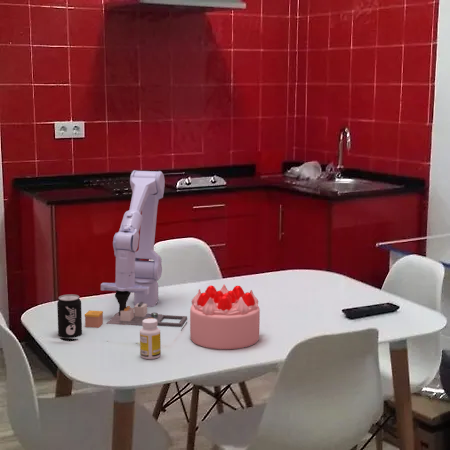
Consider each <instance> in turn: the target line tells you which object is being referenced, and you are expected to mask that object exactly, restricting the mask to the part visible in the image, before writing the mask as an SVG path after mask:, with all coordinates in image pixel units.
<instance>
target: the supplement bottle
mask: <svg viewBox="0 0 450 450" xmlns="http://www.w3.org/2000/svg"><path fill="white" fill-rule="evenodd" d="M157 325H158V322H157V320H156V319H144V320H143V321H142V326H141V328H140V330H139V351H140V352H139V354H140V355H139V356H140V357H141V359H146V360H153V359H154V360H155V359H158V358H160V357H161V355H162V351H161V349H162V348H161V346H162V345H161V343H162V341H161V330H160V328H159V326H157Z"/></svg>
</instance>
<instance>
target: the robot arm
mask: <svg viewBox="0 0 450 450" xmlns="http://www.w3.org/2000/svg"><path fill="white" fill-rule="evenodd" d="M130 173H131V174H130V178H129V185H130V188H131V191H132V194H131V199H130V200H131V201H130V204H129V205H130V206H129V210H126V211H125V212H124V214H123V217H122V220H121V223H120V228H119V230H118V232H115V234H114V236H113V239H112V240H113V241H112V247H113V251H114V252H113V253H114V257H115V281H114V282H102V283H100V291H113V292H115V293H114V297H115V299H116V300H117V303H118V307H119V308H118V312H119V316H120V311H121V310H122V311H124V309H125V308H126V307H127V303H128V299H129V298H130V295H131V293H133V305H134V306H135V305H136V304H137V303H140V302H143V304H147V308H151V307H155V306H157V302H159V283H158V281H159V280H160V279H161V277H162V272H163V266H162V262H163V261H162V257H161V256H160V255H159V254H158V253H157V252H156V251H155V250H154V248H155V238H156V227H157V215H158V207H159V206H158V205H159V200H161V199H163V198H164V193H165V183H166V181H165V175H164V173H163V172H162V171H161V170H158V171H157V170H156V171H154V170H153V171H152V170H151V171H150V170H135V169H134V170H132V171H131V172H130Z"/></svg>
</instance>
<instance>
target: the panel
mask: <svg viewBox="0 0 450 450" xmlns="http://www.w3.org/2000/svg"><path fill="white" fill-rule="evenodd" d="M161 315H163V314H161V313H158V312H151V313H147V314H146V315H145V316H144V317H137V316H134V318H133V319H132V320H131V321H121V319H120V316H119V311H117V313H116V314H115V315H114V316H112V317H111V318H110V319H109V321H107V322H106V324H107V325H120V326H122V325H124V326H139V327H143V326H142V321H143V320H144V319H156V320H157V319H158V318H159V317H160V316H161Z"/></svg>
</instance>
